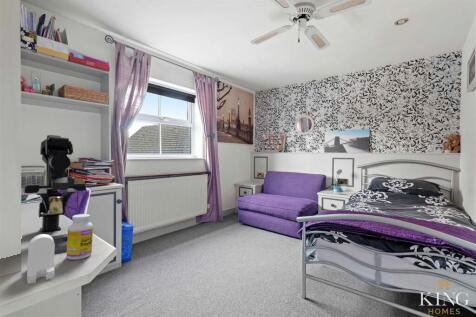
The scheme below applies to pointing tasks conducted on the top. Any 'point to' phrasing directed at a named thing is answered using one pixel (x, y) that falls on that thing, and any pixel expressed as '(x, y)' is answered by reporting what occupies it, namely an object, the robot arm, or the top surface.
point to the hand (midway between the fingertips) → (55, 210)
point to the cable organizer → (40, 258)
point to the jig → (60, 243)
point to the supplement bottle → (79, 237)
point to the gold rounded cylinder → (55, 205)
